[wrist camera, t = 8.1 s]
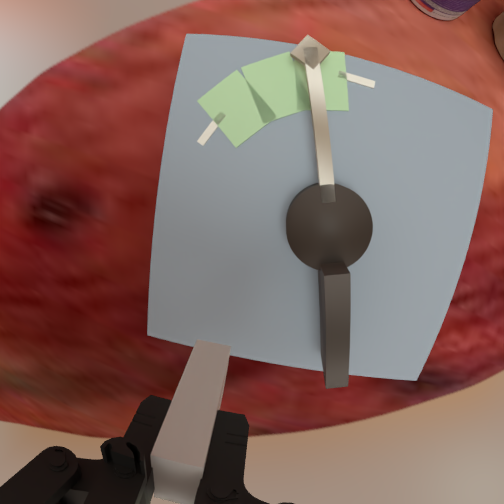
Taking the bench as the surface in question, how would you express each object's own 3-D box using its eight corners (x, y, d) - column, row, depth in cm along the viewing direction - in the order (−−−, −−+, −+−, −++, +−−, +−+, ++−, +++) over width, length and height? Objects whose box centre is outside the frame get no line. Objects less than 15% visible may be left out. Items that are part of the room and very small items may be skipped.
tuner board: (154, 326, 25) (146, 336, 23) (192, 39, 19) (185, 31, 17) (411, 370, 24) (416, 382, 22) (482, 110, 18) (494, 108, 16)
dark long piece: (265, 49, 17) (260, 24, 13) (344, 45, 17) (357, 20, 13) (295, 356, 23) (297, 390, 19) (363, 349, 22) (375, 382, 18)
